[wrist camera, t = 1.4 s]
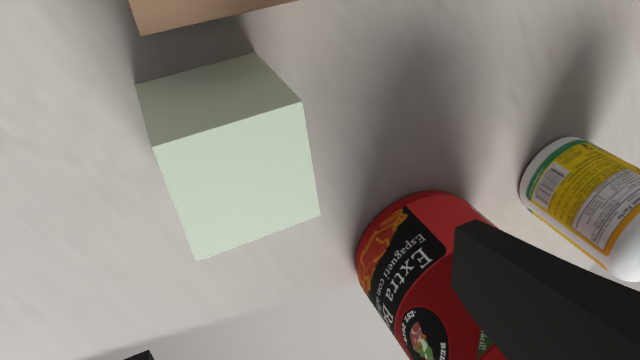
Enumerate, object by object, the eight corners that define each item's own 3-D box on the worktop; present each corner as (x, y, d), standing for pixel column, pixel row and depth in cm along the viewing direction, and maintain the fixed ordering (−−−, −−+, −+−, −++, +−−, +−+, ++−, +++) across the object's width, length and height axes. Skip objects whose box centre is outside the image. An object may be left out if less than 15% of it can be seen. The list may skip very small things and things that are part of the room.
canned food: (369, 187, 24) (529, 361, 16) (487, 183, 28) (669, 323, 19) (336, 301, 28) (451, 493, 19) (444, 284, 31) (582, 440, 23)
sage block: (172, 184, 20) (196, 262, 16) (134, 84, 17) (151, 147, 13) (275, 151, 21) (320, 215, 17) (254, 51, 18) (302, 101, 14)
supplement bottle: (512, 163, 28) (672, 271, 20) (586, 117, 28) (768, 206, 21) (519, 223, 31) (658, 334, 24) (585, 181, 31) (741, 277, 24)
